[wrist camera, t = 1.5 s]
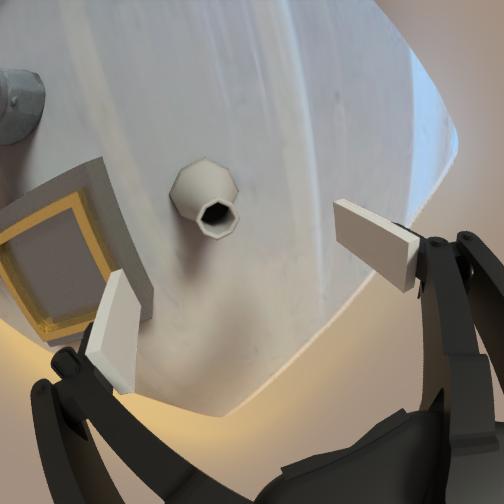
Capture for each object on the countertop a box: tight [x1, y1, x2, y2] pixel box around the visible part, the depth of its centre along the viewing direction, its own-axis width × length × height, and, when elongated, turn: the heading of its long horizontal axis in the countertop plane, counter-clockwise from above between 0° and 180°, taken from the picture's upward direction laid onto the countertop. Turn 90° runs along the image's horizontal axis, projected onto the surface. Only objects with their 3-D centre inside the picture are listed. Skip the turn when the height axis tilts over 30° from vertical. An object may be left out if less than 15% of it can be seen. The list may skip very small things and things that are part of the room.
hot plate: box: [0, 157, 154, 347], centre depth 24 cm, size 19×15×8 cm
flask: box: [169, 158, 240, 240], centre depth 25 cm, size 7×7×10 cm
